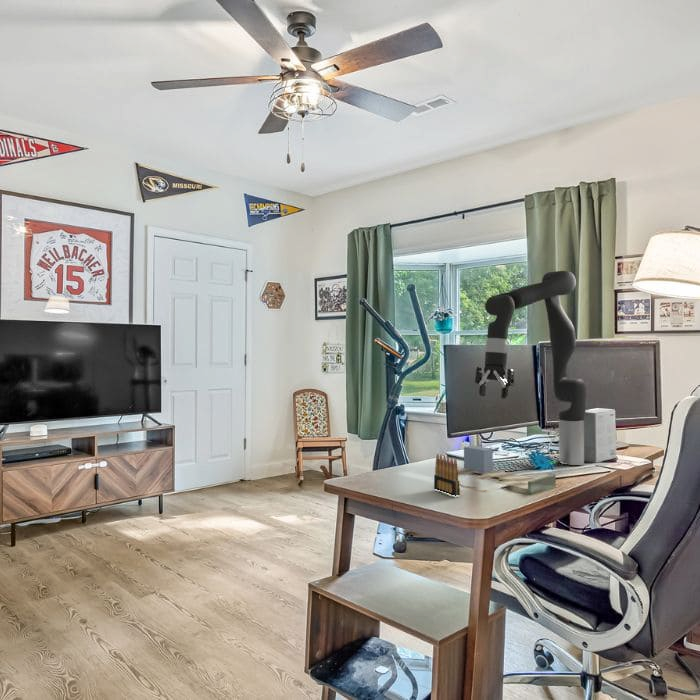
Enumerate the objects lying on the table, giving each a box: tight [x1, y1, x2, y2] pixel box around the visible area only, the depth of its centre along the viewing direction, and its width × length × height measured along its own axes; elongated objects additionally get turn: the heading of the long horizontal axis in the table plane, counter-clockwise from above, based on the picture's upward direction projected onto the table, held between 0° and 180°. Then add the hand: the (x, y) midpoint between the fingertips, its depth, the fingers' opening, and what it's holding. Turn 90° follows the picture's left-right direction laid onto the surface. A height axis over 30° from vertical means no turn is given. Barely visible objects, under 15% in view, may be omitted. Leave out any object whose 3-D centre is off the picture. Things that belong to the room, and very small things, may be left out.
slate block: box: [463, 445, 494, 473], centre depth 203 cm, size 9×5×8 cm, turn 39°
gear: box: [528, 449, 557, 472], centre depth 206 cm, size 11×6×10 cm
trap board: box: [458, 467, 557, 496], centre depth 193 cm, size 33×16×4 cm, turn 39°
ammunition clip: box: [433, 453, 461, 496], centre depth 177 cm, size 11×2×12 cm, turn 29°
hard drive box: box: [584, 407, 617, 464], centre depth 226 cm, size 16×8×20 cm, turn 126°
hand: (492, 397), depth 197 cm, fingers open, 8 cm apart
